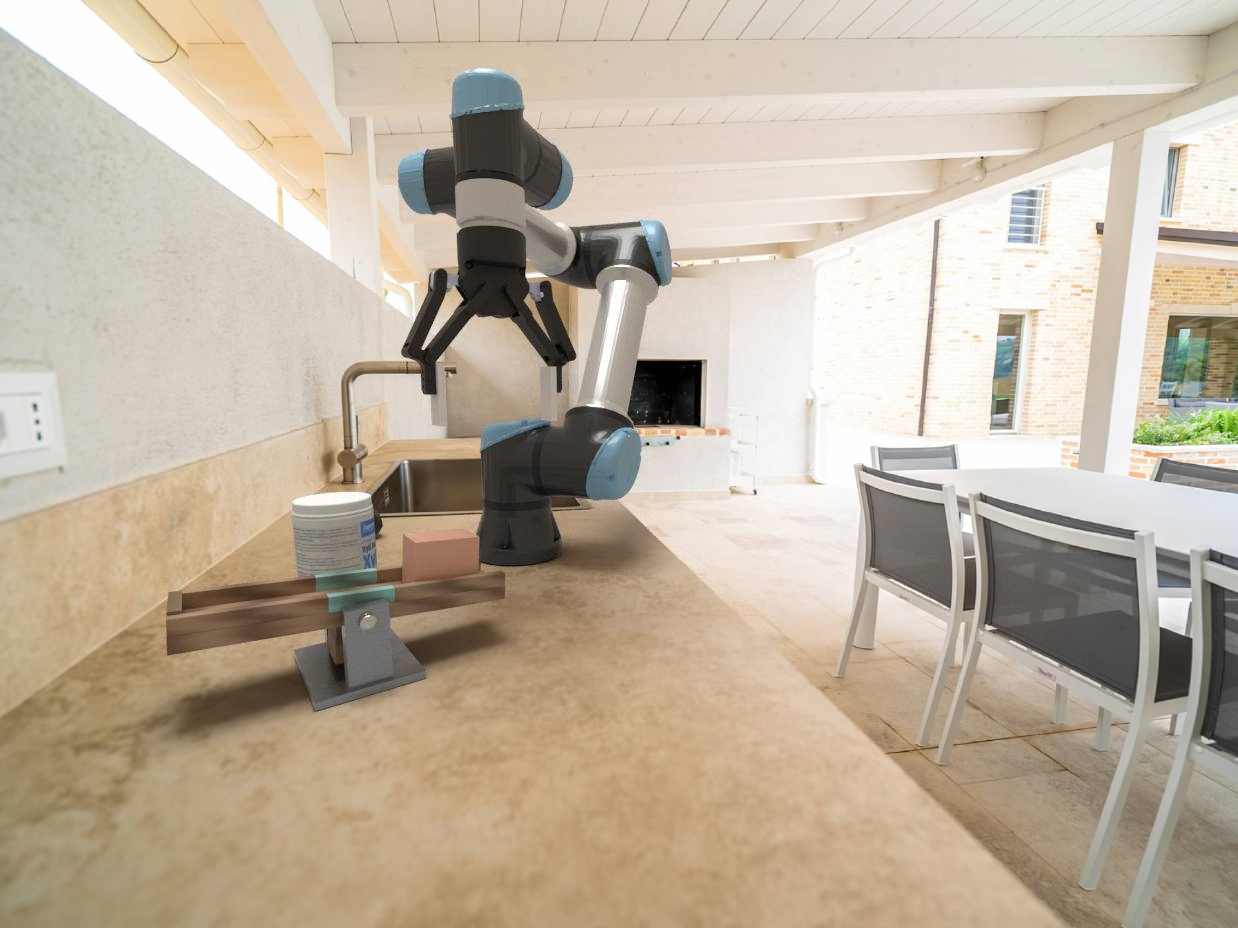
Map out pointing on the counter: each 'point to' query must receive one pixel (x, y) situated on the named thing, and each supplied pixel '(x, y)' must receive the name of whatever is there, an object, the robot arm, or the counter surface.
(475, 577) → the beam
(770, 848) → the counter surface
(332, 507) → the supplement tub
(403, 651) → the stand
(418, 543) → the block
